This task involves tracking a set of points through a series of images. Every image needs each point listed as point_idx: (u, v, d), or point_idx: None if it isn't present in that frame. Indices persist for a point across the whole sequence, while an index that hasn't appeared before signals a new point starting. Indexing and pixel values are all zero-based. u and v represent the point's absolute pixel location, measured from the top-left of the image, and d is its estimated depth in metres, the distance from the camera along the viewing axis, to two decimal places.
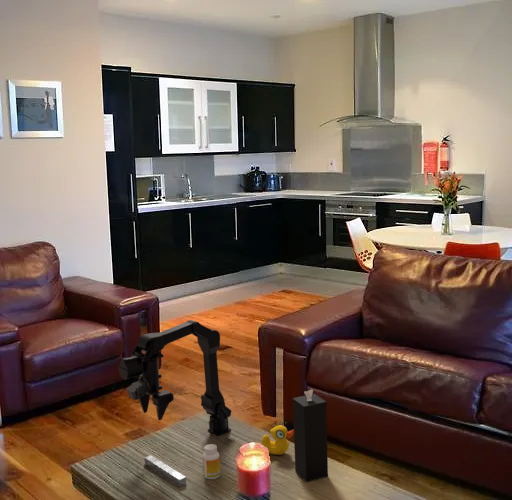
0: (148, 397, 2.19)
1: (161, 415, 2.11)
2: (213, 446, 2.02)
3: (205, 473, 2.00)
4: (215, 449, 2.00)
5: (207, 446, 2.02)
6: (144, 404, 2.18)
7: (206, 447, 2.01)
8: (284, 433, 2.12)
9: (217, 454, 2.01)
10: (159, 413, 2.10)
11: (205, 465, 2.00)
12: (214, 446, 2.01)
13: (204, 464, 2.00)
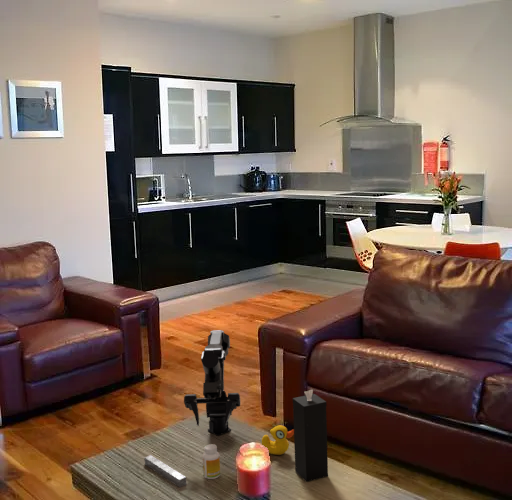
0: None
1: (227, 419, 2.10)
2: (213, 446, 2.02)
3: (205, 473, 2.00)
4: (215, 449, 2.00)
5: (207, 446, 2.02)
6: (198, 416, 2.10)
7: (206, 447, 2.01)
8: (284, 433, 2.12)
9: (217, 454, 2.01)
10: (228, 416, 2.10)
11: (205, 465, 2.00)
12: (214, 446, 2.01)
13: (204, 464, 2.00)
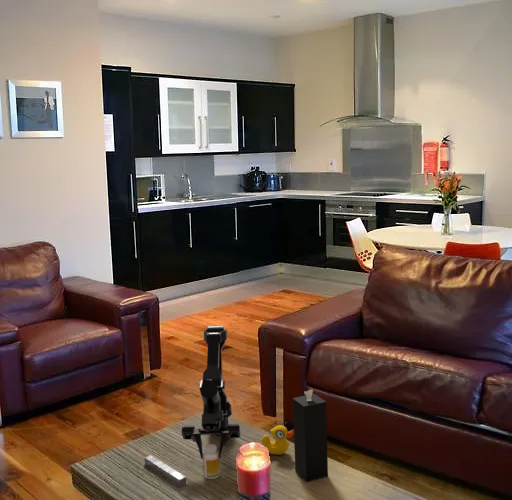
0: None
1: (222, 452, 2.01)
2: (213, 445, 2.02)
3: (205, 473, 2.00)
4: (215, 449, 2.00)
5: (207, 446, 2.02)
6: (201, 448, 2.02)
7: (206, 447, 2.01)
8: (284, 433, 2.12)
9: (217, 454, 2.01)
10: (222, 448, 2.01)
11: (205, 465, 2.00)
12: (214, 446, 2.01)
13: (204, 464, 2.00)
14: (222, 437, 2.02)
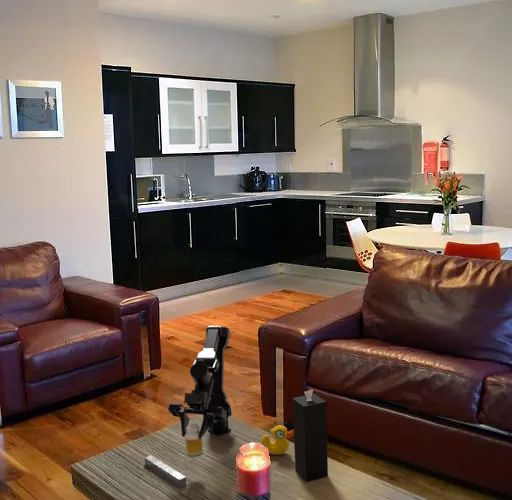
0: (187, 423, 2.05)
1: (203, 433, 2.00)
2: (195, 426, 2.01)
3: (186, 452, 2.01)
4: (196, 429, 2.00)
5: (190, 425, 2.02)
6: (185, 427, 2.03)
7: (188, 426, 2.01)
8: (284, 433, 2.12)
9: (198, 434, 2.00)
10: (203, 429, 2.00)
11: (185, 444, 2.01)
12: (196, 426, 2.01)
13: (185, 443, 2.01)
14: (204, 418, 2.01)
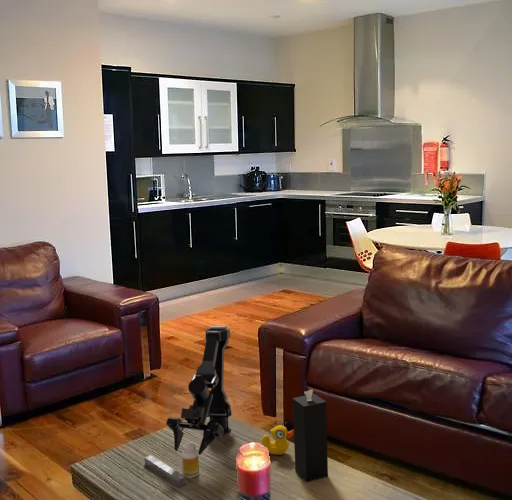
0: (181, 437, 2.07)
1: (203, 449, 2.01)
2: (192, 445, 2.03)
3: (182, 470, 2.03)
4: (192, 449, 2.01)
5: (187, 444, 2.03)
6: (178, 441, 2.04)
7: (185, 445, 2.03)
8: (284, 433, 2.12)
9: (194, 454, 2.01)
10: (203, 445, 2.01)
11: (182, 463, 2.02)
12: (192, 445, 2.02)
13: (182, 461, 2.02)
14: (204, 434, 2.01)
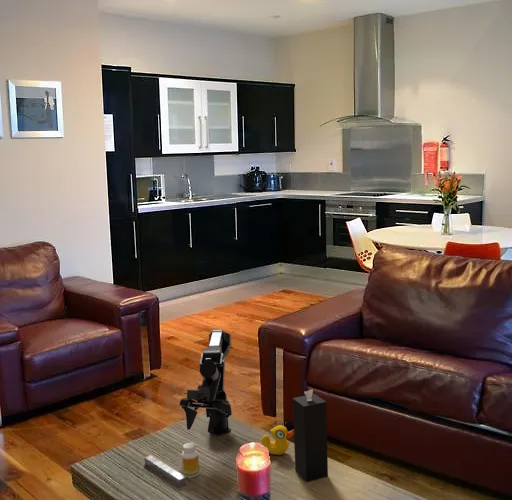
0: (194, 416, 2.18)
1: (212, 426, 2.09)
2: (192, 445, 2.03)
3: (182, 470, 2.03)
4: (192, 449, 2.01)
5: (187, 444, 2.03)
6: (190, 420, 2.15)
7: (185, 445, 2.03)
8: (284, 433, 2.12)
9: (194, 454, 2.01)
10: (211, 423, 2.09)
11: (182, 463, 2.02)
12: (192, 445, 2.02)
13: (182, 461, 2.02)
14: (211, 412, 2.09)
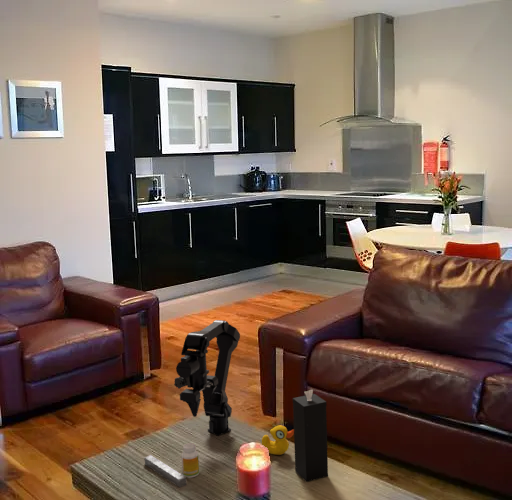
0: (210, 393, 2.24)
1: (194, 412, 2.16)
2: (192, 445, 2.03)
3: (182, 470, 2.03)
4: (192, 449, 2.01)
5: (187, 444, 2.03)
6: (205, 398, 2.25)
7: (185, 445, 2.03)
8: (284, 433, 2.12)
9: (194, 454, 2.01)
10: (192, 409, 2.16)
11: (182, 463, 2.02)
12: (192, 445, 2.02)
13: (182, 461, 2.02)
14: None
